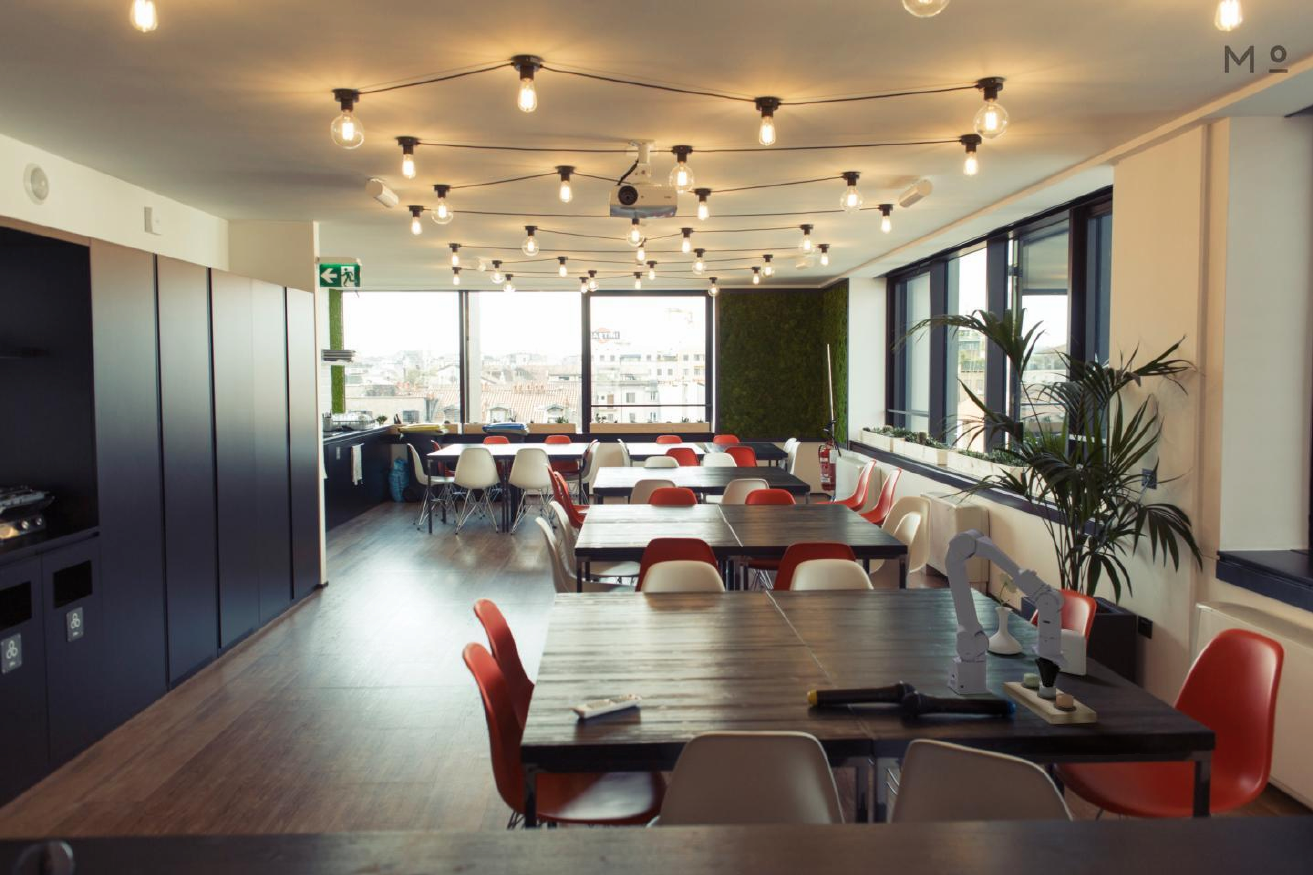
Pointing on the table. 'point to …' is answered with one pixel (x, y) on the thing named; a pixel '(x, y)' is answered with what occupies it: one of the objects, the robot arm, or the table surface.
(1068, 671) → the photo printer
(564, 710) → the table surface
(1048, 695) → the button slate
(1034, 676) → the button sage
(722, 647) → the table surface
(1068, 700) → the button terracotta
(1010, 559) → the robot arm
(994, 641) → the flower in vase
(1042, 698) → the button panel
